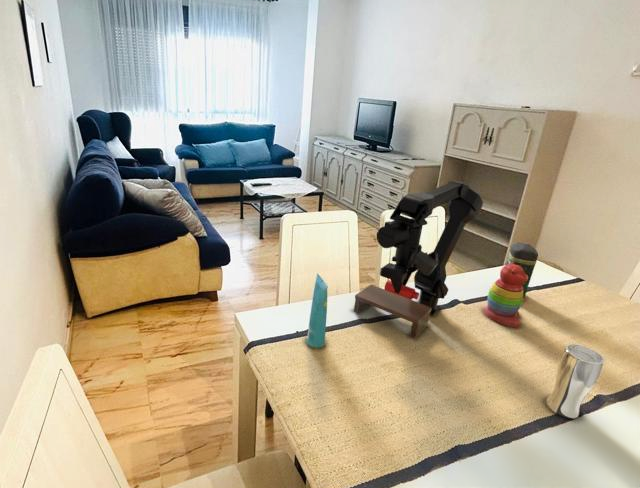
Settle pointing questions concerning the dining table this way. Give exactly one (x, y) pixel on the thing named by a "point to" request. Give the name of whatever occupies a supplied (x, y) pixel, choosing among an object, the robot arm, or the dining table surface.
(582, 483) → the dining table surface
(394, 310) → the shelf
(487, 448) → the dining table surface
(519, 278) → the stacking bear
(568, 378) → the silver metal cylinder
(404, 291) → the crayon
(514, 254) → the coffee jar
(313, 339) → the tube
